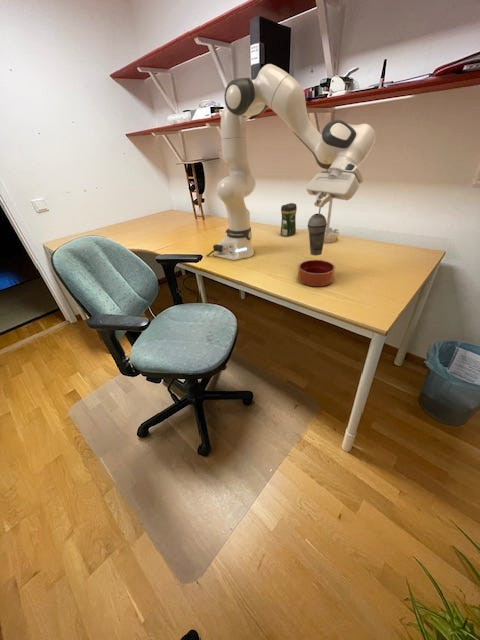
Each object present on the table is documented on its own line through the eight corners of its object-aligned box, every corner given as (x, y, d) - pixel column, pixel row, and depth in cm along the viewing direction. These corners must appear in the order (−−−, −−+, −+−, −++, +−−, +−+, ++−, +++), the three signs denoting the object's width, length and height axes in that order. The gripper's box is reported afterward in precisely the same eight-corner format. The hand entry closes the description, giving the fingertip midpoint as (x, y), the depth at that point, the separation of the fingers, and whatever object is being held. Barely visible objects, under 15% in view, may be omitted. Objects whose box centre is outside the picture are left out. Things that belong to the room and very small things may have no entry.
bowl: (293, 284, 108) (294, 271, 105) (302, 270, 119) (303, 258, 116) (329, 289, 103) (332, 276, 99) (335, 274, 113) (337, 261, 110)
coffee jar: (288, 231, 170) (289, 201, 160) (297, 233, 165) (299, 202, 155) (278, 235, 166) (278, 204, 155) (287, 237, 160) (288, 205, 150)
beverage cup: (311, 249, 110) (312, 199, 99) (327, 251, 106) (331, 199, 95) (304, 255, 105) (304, 203, 94) (321, 257, 101) (323, 203, 90)
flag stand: (342, 239, 151) (351, 182, 134) (328, 244, 145) (336, 185, 128) (324, 234, 160) (330, 181, 142) (310, 240, 154) (315, 184, 136)
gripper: (316, 165, 97) (295, 196, 99) (361, 166, 83) (335, 203, 84) (323, 176, 102) (303, 207, 104) (367, 180, 87) (342, 215, 89)
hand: (317, 205), depth 94 cm, fingers closed on beverage cup
